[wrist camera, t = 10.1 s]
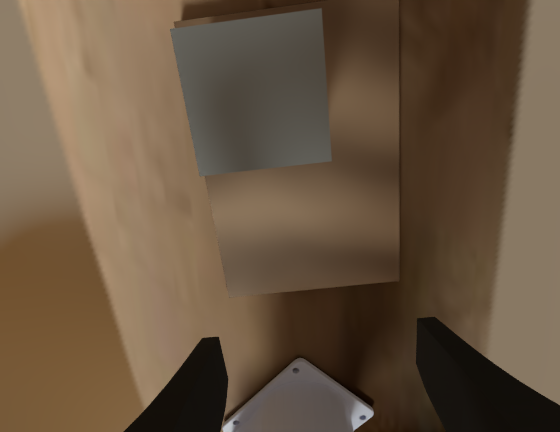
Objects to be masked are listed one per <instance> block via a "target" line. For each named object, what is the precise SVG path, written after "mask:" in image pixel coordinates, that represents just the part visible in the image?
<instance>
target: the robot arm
mask: <svg viewBox="0 0 560 432" xmlns="http://www.w3.org/2000/svg"><path fill="white" fill-rule="evenodd" d="M416 364H417V367H418V370H419V373H420V376H421V379H422V381H423V384H424V387H425V389H426V392H427V394H428V396H429V398H430V400H431V402H432V404H433V406H434V408H435V410H436V412H437V414H438V416H439V418H440V420H441V422H442V424H443V426H444V428H445V430H446V432H560V405H558V404H557V403H555V402H553V401H551V400H550V399H548V398H546V397H545V396H543V395H541V394H539V393H538V392H536V391H535V390H533V389H531V388H530V387H528V386H526V385H525V384H523V383H522V382H520V381H519V380H517V379H516V378H514V377H513V376H511V375H509V374H508V373H507V372H505V371H504V370H502V369H501V368H499V367H498V366H497V365H495V364H494V363H493V362H491V361H490V360H488V359H487V358H486V357H484V356H483V355H482V354H480V353H479V352H478V351H476V350H475V349H474V348H473V347H471V346H470V345H469V344H467V343H466V342H465V341H464V340H462V339H461V338H460V337H459V336H457V335H456V334H455V333H454V332H453V331H451V330H450V329H449V328H448V327H446V326H445V325H444V324H443V323H442V322H440V321H439V320H438V319H437V318H435V317H428V318H417V346H416ZM294 368H298V369H294ZM227 388H228V376H227V371H226V367H225V362H224V358H223V354H222V349H221V345H220V340H219V337H209V338H202V339H201V340H200V342H199V343H198V344H197V346H196V347H195V348H194V350H193V351H192V352H191V354H190V355H189V357H188V358H187V359H186V361H185V362H184V363H183V365H182V366H181V367H180V369H179V370H178V371H177V372H176V374H175V375H174V376H173V377H172V379H171V380H170V381H169V383H168V384H167V385H166V386H165V387H164V389H163V390H162V391H161V392H160V393H159V394H158V396H157V397H156V398H155V399H154V400H153V401H152V403H151V404H150V405H149V406H148V407H147V408H146V409H145V410H144V411H143V412H142V414H141V415H140V416H139V417H138V418H137V419H136V420H135V421H134V422H133V423H132V424H131V425H130V426H129V427H128V428H127V429H126V430H125V431H124V432H220V431H221V426H222V421H223V417H224V412H225V407H226V398H227ZM373 414H374V412H373V408H372V407H371V406H369V405H368V404H367V403H365V402H364V401H362V400H361V399H360V398H358V397H357V396H355V395H354V394H353V393H351V392H350V391H348V390H347V389H346V388H344V387H343V386H341V385H340V384H339V383H337V382H336V381H335V380H333V379H332V378H330V377H329V376H328V375H326V374H325V373H323V372H322V371H321V370H319V369H318V368H316V367H315V366H314V365H312V364H311V363H309V362H308V361H307V360H305V359H303V358H297V359H296V360H294V361H293V362H292V363H291V364H290V365H289V366H288V367H286V368H285V369H284V370H283V371H282V372H281V373H280V374H278V375H277V376H276V377H275V378H274V379H273V380H272V381H271V382H269V383H268V384H267V385H266V386H265V387H264V388H263V389H262V390H260V391H259V392H258V393H257V394H256V395H255V396H254V397H253V398H251V399H250V400H249V401H248V402H247V403H246V404H245V405H243V406H242V407H241V408H240V409H239V410H238V411H237V412H236V413H234V414H233V415H232V416H231V417H230V418H229V419H228V420H227V421H225V422H224V424H223V428H222V430H223V431H224V432H354V430H355V429H356V428H358V427H359V426H360V425H362V424H363V423H364V422H366V421H367V420H368V419H370V418H371V417H372V416H373ZM362 415H363V416H362ZM236 420H237V421H236Z"/></svg>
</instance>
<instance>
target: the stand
mask: <svg viewBox="0 0 560 432" xmlns="http://www.w3.org/2000/svg"><path fill="white" fill-rule="evenodd" d="M320 8H322V22H323V37H324V52H325V67H326V82H327V96H328V111H329V126H330V141H331V156H332V161H329V162H321V163H312V164H303V165H294V166H286V167H277V168H268V169H259V170H251V171H242V172H233V173H224V174H216V175H207V176H205V180H206V185H207V190H208V195H209V200H210V205H211V210H212V215H213V220H214V225H215V230H216V235H217V240H218V245H219V250H220V255H221V260H222V265H223V270H224V275H225V280H226V285H227V290H228V295H229V298H230V297H240V296H250V295H261V294H271V293H281V292H291V291H301V290H312V289H322V288H332V287H342V286H352V285H363V284H373V283H383V282H393V281H400V224H399V0H325V1H317V2H310V3H303V4H296V5H289V6H282V7H275V8H268V9H261V10H254V11H247V12H240V13H233V14H226V15H219V16H211V17H204V18H197V19H190V20H183V21H176V22H174V26H175V28H181V27H188V26H195V25H203V24H210V23H217V22H225V21H232V20H239V19H247V18H254V17H261V16H268V15H276V14H283V13H290V12H298V11H305V10H312V9H320Z"/></svg>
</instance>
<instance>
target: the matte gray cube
mask: <svg viewBox="0 0 560 432" xmlns="http://www.w3.org/2000/svg"><path fill="white" fill-rule="evenodd" d="M170 32H171V36H172V41H173V46H174V51H175V56H176V61H177V66H178V71H179V76H180V81H181V86H182V91H183V96H184V101H185V106H186V110H187V115H188V120H189V125H190V130H191V135H192V140H193V145H194V150H195V155H196V160H197V165H198V170H199V175H200V176H207V175H216V174H224V173H233V172H242V171H251V170H259V169H268V168H277V167H286V166H294V165H303V164H312V163H321V162H329V161H332V156H331V141H330V126H329V111H328V96H327V82H326V67H325V52H324V37H323V22H322V8H320V9H312V10H305V11H298V12H290V13H283V14H276V15H268V16H261V17H254V18H247V19H239V20H232V21H225V22H217V23H210V24H203V25H195V26H188V27H181V28H174V29H170Z"/></svg>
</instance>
